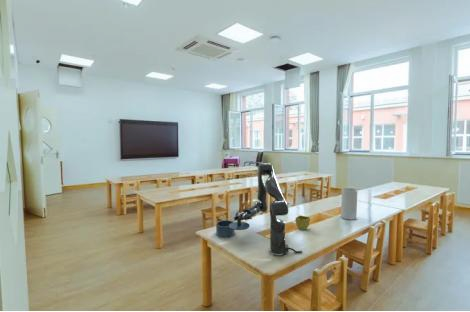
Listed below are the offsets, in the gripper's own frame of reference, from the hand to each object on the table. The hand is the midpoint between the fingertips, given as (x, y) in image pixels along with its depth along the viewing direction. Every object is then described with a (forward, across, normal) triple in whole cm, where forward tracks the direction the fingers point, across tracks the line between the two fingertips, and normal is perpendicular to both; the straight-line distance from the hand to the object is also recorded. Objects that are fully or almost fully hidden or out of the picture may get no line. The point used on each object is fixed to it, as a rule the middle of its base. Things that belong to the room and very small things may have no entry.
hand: (236, 219), depth 172 cm
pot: (-7, -15, +17) cm, 23 cm away
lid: (-3, 0, +6) cm, 7 cm away
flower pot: (-49, +29, +17) cm, 59 cm away
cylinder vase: (-97, +53, +17) cm, 112 cm away
